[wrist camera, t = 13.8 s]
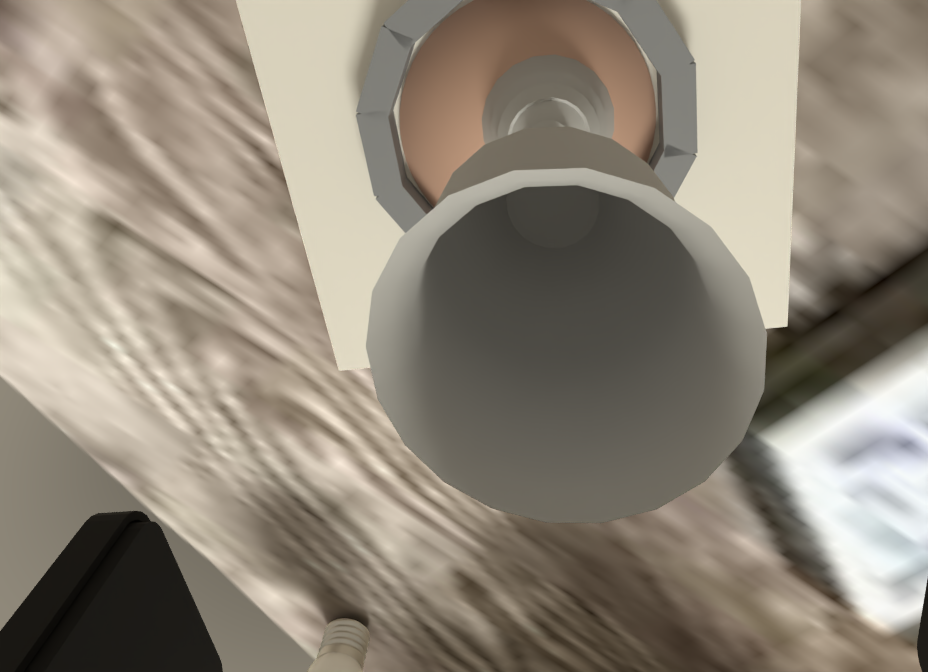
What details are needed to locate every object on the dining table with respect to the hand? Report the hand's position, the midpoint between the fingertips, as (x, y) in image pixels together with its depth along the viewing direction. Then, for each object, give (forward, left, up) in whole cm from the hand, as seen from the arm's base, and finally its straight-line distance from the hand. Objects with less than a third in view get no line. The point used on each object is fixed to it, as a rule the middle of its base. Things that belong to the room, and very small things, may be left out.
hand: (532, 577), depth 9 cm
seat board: (0, 0, -24) cm, 24 cm away
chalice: (0, 0, -23) cm, 23 cm away
